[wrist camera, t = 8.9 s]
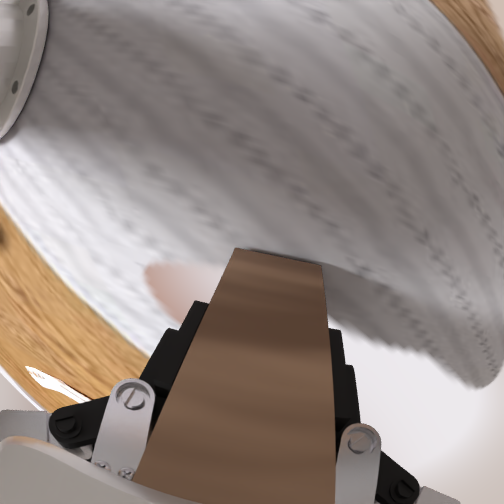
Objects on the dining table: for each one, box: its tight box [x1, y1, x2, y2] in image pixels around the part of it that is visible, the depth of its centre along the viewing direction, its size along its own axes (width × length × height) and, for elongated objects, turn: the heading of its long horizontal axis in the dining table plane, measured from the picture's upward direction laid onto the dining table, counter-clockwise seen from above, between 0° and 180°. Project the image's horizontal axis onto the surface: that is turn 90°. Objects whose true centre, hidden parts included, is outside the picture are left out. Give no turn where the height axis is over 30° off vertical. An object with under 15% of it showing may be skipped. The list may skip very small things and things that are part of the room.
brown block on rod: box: [132, 248, 336, 504], centre depth 12 cm, size 20×6×12 cm, turn 171°
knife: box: [25, 366, 91, 403], centre depth 26 cm, size 30×2×8 cm
